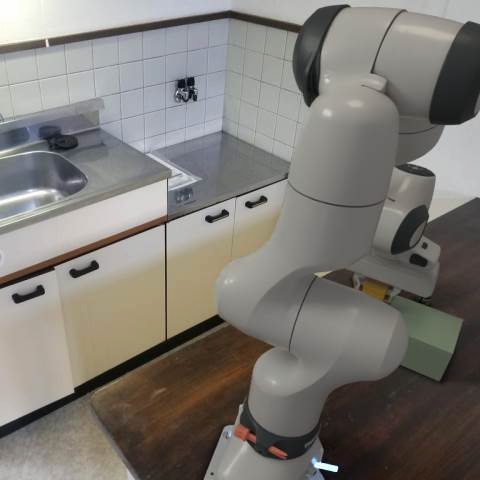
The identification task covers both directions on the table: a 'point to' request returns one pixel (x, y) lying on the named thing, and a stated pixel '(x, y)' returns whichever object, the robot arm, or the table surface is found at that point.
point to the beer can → (423, 300)
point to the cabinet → (428, 337)
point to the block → (375, 288)
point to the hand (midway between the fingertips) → (374, 294)
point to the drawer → (384, 300)
